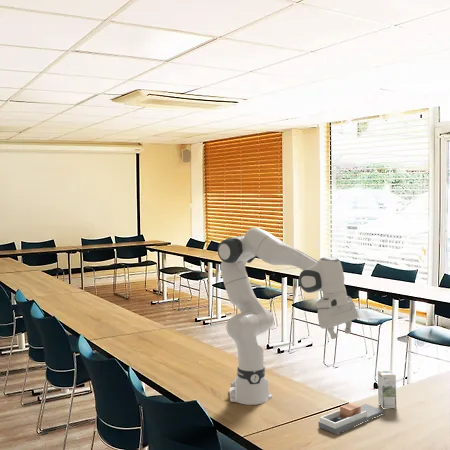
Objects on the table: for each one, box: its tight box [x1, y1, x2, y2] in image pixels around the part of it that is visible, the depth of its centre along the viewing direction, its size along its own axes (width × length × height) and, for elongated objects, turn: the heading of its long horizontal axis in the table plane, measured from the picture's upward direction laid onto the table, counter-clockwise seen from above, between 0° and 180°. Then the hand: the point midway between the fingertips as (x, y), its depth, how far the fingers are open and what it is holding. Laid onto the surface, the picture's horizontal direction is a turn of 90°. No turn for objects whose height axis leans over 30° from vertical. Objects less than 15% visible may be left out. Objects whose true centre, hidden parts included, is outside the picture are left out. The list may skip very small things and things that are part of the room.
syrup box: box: [377, 370, 397, 409], centre depth 233 cm, size 6×6×14 cm
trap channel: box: [318, 403, 385, 435], centre depth 220 cm, size 28×9×4 cm, turn 128°
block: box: [339, 402, 362, 419], centre depth 220 cm, size 6×5×4 cm
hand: (341, 335), depth 216 cm, fingers open, 8 cm apart
